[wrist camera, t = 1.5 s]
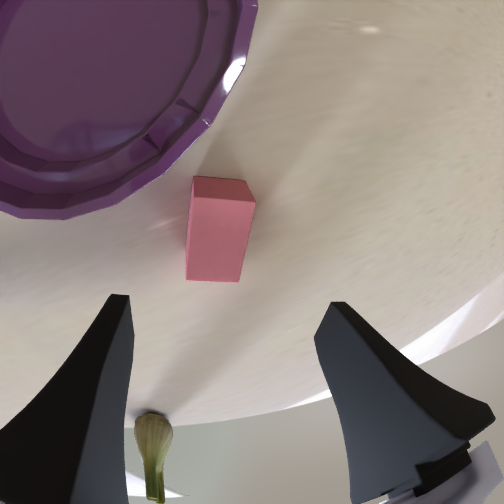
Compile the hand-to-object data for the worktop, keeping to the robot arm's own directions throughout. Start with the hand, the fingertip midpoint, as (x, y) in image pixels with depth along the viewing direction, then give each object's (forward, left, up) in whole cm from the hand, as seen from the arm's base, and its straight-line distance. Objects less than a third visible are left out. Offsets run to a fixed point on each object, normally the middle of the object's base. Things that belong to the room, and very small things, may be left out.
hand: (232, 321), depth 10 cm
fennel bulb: (-28, +5, -9) cm, 30 cm away
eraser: (0, 0, -9) cm, 9 cm away
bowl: (+10, +9, -9) cm, 16 cm away
